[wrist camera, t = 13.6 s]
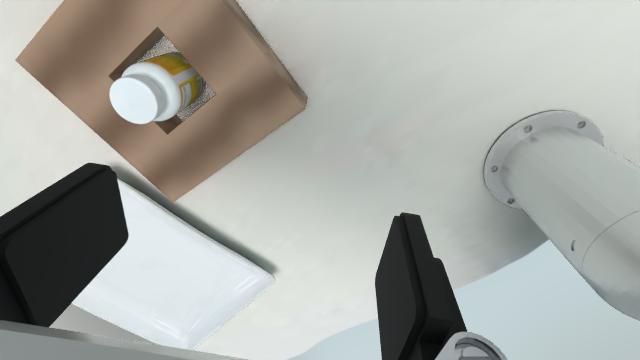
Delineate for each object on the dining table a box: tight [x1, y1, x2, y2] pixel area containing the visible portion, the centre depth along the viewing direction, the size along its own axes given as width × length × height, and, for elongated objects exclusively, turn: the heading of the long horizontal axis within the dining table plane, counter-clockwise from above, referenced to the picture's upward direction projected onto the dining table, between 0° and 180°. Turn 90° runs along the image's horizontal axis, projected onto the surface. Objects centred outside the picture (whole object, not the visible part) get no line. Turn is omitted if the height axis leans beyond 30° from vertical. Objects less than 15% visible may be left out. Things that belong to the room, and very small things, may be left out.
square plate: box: [71, 178, 275, 350], centre depth 49 cm, size 27×27×4 cm
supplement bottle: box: [109, 52, 205, 124], centre depth 31 cm, size 5×5×10 cm
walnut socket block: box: [15, 0, 308, 202], centre depth 33 cm, size 20×20×4 cm
